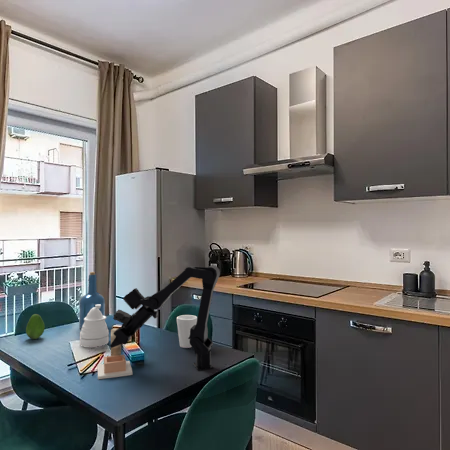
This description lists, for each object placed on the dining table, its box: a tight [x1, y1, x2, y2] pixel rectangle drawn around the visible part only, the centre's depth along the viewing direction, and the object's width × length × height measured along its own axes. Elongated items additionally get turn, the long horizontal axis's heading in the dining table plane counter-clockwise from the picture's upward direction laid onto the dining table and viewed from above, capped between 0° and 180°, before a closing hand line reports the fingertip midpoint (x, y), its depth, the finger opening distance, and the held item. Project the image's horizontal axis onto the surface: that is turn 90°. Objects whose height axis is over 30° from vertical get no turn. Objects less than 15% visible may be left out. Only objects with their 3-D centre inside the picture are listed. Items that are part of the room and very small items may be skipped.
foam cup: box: [176, 314, 198, 349], centre depth 167 cm, size 10×9×13 cm
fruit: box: [25, 313, 46, 340], centre depth 176 cm, size 8×8×12 cm
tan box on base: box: [97, 354, 133, 380], centre depth 137 cm, size 12×12×4 cm
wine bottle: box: [78, 271, 106, 329], centre depth 197 cm, size 14×13×30 cm
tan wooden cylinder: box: [110, 328, 122, 356], centre depth 146 cm, size 4×4×13 cm
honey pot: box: [79, 304, 110, 348], centre depth 170 cm, size 13×13×18 cm
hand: (112, 345), depth 146 cm, fingers closed on tan wooden cylinder, 4 cm apart
